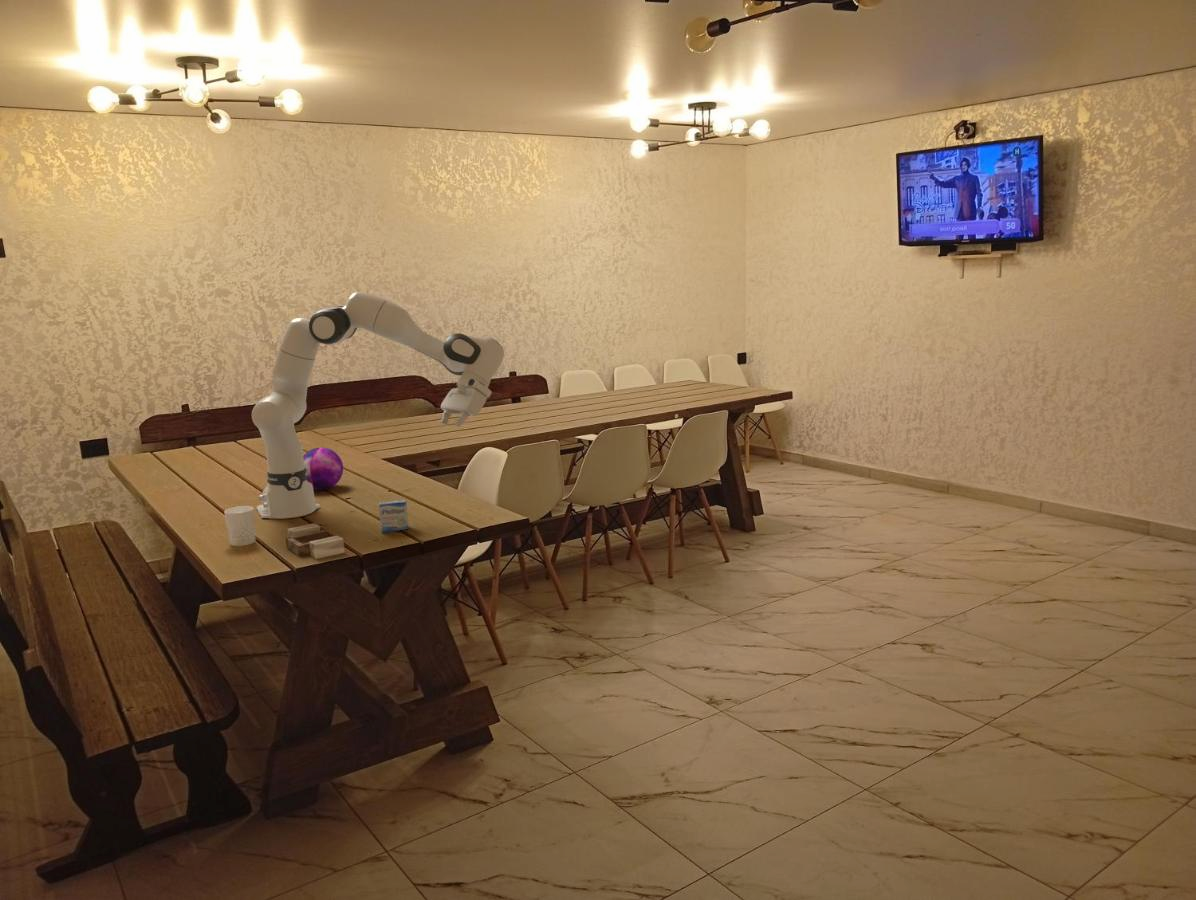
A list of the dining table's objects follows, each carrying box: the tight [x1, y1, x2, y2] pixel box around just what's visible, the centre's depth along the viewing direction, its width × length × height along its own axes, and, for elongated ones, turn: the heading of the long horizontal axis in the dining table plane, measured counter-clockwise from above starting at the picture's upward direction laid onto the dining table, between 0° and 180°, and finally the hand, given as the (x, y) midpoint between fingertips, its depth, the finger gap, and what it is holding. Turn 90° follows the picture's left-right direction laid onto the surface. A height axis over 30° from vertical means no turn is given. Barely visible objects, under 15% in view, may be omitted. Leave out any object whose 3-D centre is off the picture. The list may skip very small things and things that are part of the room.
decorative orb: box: [303, 447, 344, 491], centre depth 320 cm, size 15×15×15 cm
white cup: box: [224, 505, 256, 547], centre depth 259 cm, size 8×8×10 cm
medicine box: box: [378, 498, 409, 533], centre depth 267 cm, size 8×4×9 cm, turn 105°
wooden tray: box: [285, 522, 345, 560], centre depth 252 cm, size 21×12×4 cm, turn 38°
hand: (449, 425), depth 274 cm, fingers open, 8 cm apart
